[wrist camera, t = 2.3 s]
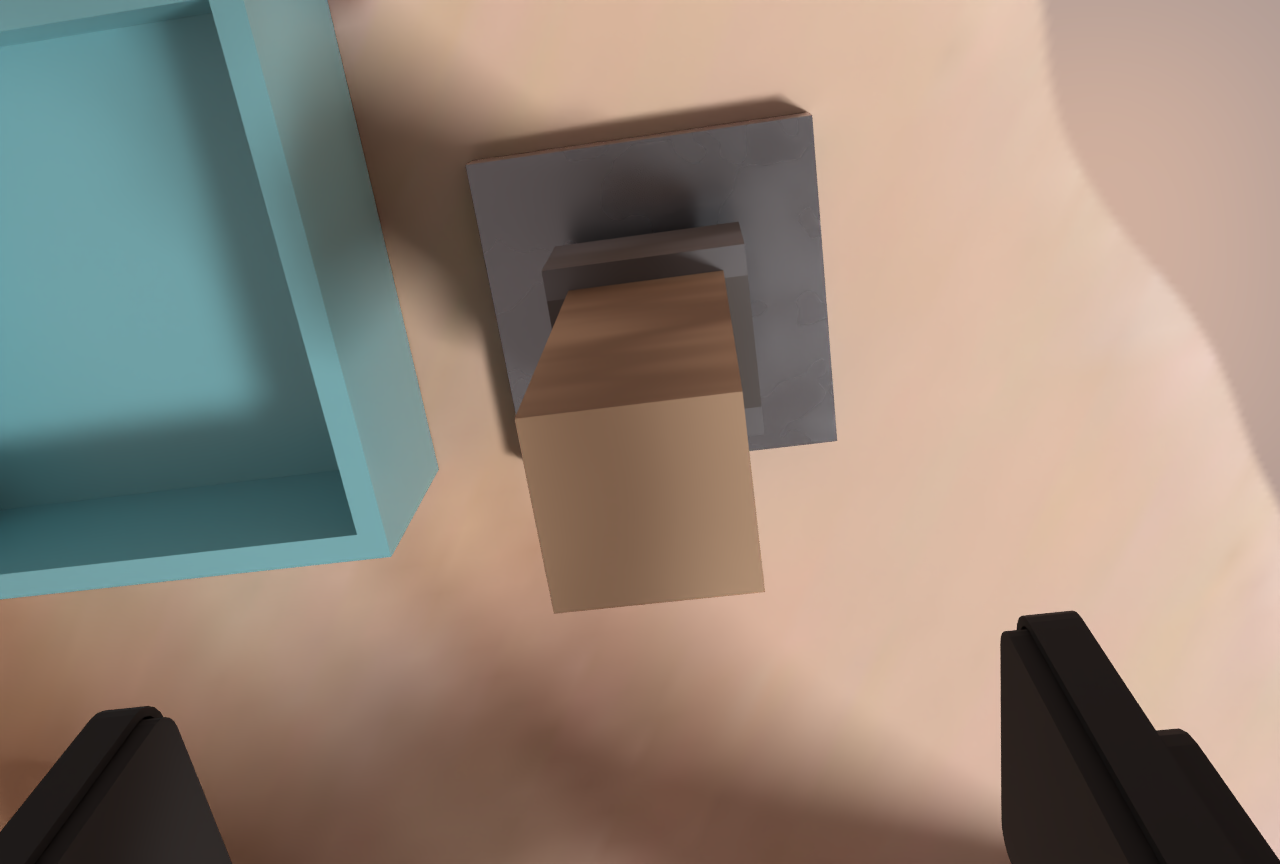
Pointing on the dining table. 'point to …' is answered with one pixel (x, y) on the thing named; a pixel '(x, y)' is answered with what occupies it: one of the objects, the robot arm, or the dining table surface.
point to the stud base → (665, 201)
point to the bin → (192, 301)
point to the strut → (645, 421)
